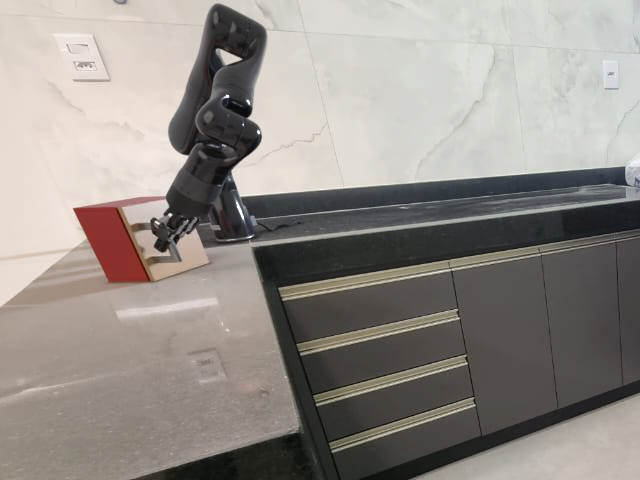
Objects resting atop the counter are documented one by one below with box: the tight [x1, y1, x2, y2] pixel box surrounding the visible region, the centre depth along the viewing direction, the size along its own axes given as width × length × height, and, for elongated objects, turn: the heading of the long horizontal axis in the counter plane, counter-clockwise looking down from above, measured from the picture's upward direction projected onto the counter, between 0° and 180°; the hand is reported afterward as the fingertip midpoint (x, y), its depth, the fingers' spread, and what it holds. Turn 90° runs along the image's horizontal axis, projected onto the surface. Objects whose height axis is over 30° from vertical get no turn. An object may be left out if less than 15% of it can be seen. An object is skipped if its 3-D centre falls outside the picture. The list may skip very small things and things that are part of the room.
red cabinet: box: [72, 195, 166, 283], centre depth 123 cm, size 10×16×17 cm, turn 175°
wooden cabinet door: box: [117, 199, 210, 282], centre depth 122 cm, size 7×16×16 cm, turn 176°
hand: (163, 248), depth 118 cm, fingers closed on wooden cabinet door
